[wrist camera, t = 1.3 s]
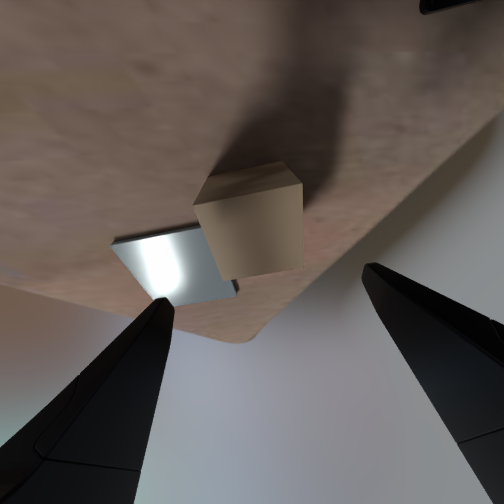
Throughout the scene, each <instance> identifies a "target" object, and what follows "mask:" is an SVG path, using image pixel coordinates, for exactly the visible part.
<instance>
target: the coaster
mask: <svg viewBox="0 0 504 504" xmlns="http://www.w3.org/2000/svg"><path fill="white" fill-rule="evenodd" d="M110 247H111V248H112V249H113V251H114V252H115V253H116V254H117V255H118V257H119V258H120V259H121V260H122V262H123V263H124V264H125V265H126V267H127V268H128V269H129V270H130V272H131V273H132V274H133V275H134V277H135V278H136V279H137V280H138V282H139V283H140V284H141V285H142V287H143V288H144V289H145V290H146V291H147V293H148V294H149V295H150V296H151V298H152V299H153V300H155V299H157V298H160V297H166V298H168V300H169V301H170V302H171V304H172V305H173V307H174V306H180V305H186V304H192V303H198V302H204V301H210V300H217V299H223V298H229V297H235V296H237V291H236V288H235V286H234V283H233V280H227V281H223V279H222V277H221V275H220V272H219V270H218V267H217V265H216V262H215V260H214V257H213V255H212V252H211V250H210V248H209V245H208V243H207V240H206V238H205V235H204V233H203V230H202V228H201V225H198V226H193V227H188V228H183V229H178V230H173V231H167V232H162V233H157V234H152V235H147V236H142V237H137V238H132V239H127V240H121V241H116V242H113V243H112V244H111V245H110Z"/></svg>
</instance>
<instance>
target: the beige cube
mask: <svg viewBox="0 0 504 504" xmlns="http://www.w3.org/2000/svg"><path fill="white" fill-rule="evenodd" d="M193 208H194V211H195V213H196V216H197V218H198V221H199V223H200V225H201V228H202V230H203V233H204V235H205V238H206V240H207V243H208V245H209V248H210V250H211V252H212V255H213V257H214V260H215V262H216V265H217V267H218V270H219V272H220V275H221V277H222V279H223V281H227V280H233V279H239V278H245V277H251V276H257V275H262V274H268V273H274V272H280V271H286V270H292V269H298V268H304V229H303V187H302V182H301V181H300V180H299V179H298V178H297V177H296V175H295V174H294V173H293V172H292V171H291V170H290V169H289V168H288V166H287V165H286V164H285V163H284V162H283V161H278V162H273V163H269V164H264V165H259V166H255V167H250V168H246V169H241V170H236V171H232V172H227V173H222V174H218V175H213V176H209V177H208V178H207V180H206V182H205V183H204V185H203V187H202V189H201V191H200V193H199V195H198V196H197V198H196V200H195V202H194V204H193Z"/></svg>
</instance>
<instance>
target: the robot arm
mask: <svg viewBox="0 0 504 504" xmlns="http://www.w3.org/2000/svg"><path fill="white" fill-rule="evenodd" d="M477 1H481V0H434V2H433V4H432V3H431V0H420V5H419V9H420V13H422V14H423V15H427V14H431V13H435V12H439V11H442V10H446V9H450V8H454V7H458V6H462V5H465V4H469V3H473V2H477ZM362 283H363V285H364V287H365V289H366V291H367V293H368V295H369V297H370V300H371V302H372V304H373V306H374V308H375V310H376V312H377V314H378V316H379V317H380V319H381V321H382V323H383V324H384V325H385V327H386V329H387V330H388V332H389V334H390V336H391V337H392V339H393V340H394V342H395V344H396V345H397V347H398V349H399V350H400V351H401V354H402V355H403V357H404V358H405V360H406V362H407V363H408V365H409V366H410V368H411V370H412V372H413V373H414V375H415V376H416V378H417V380H418V381H419V383H420V385H421V386H422V388H423V389H424V391H425V392H426V394H427V396H428V398H429V399H430V401H431V403H432V404H433V406H434V407H435V409H436V411H437V412H438V414H439V416H440V417H441V419H442V421H443V422H444V424H445V425H446V427H447V429H448V430H449V432H450V434H451V435H452V437H453V438H454V440H455V442H456V443H457V445H458V447H459V449H460V450H461V452H462V453H463V455H464V457H465V458H466V460H467V462H468V463H469V465H470V467H471V468H472V470H473V471H474V473H475V475H476V476H477V478H478V480H479V481H480V483H481V484H482V486H483V488H484V489H485V491H486V493H487V494H488V496H489V498H490V499H491V501H492V502H493V504H504V325H503V324H501V323H499V322H497V321H495V320H490V318H488V317H487V316H485V315H482V314H480V313H478V312H476V311H474V310H472V309H470V308H468V307H466V306H464V305H462V304H460V303H458V302H456V301H454V300H452V299H450V298H448V297H446V296H444V295H442V294H440V293H438V292H436V291H434V290H431V289H429V288H428V287H426V286H423V285H421V284H419V283H417V282H415V281H413V280H411V279H409V278H407V277H405V276H403V275H401V274H399V273H397V272H395V271H393V270H391V269H389V268H387V267H385V266H383V265H381V264H379V263H376V262H374V263H367V264H365V266H364V269H363V273H362ZM174 313H175V310H174V307H173V305H172V304H171V302H170V301H169V300H168V298H166V297H160V298H157V299H155V300H154V301H153V302H152V303H151V304H150V305H149V306H148V307H147V308H146V309H145V310H144V311H143V312H142V313H141V314H140V315H139V316H138V317H137V318H136V319H135V320H134V321H133V322H132V323H131V324H130V325H129V326H128V327H127V328H126V329H125V330H124V331H123V332H122V333H121V334H120V335H119V336H118V337H117V338H115V340H114V341H112V342H111V343H110V344H109V345H108V346H107V347H106V348H105V349H104V350H103V351H102V352H101V353H100V354H99V355H98V356H97V357H96V358H95V359H94V360H93V361H92V362H91V363H90V364H89V365H88V366H87V367H86V368H85V369H84V370H83V371H82V372H81V373H80V375H78V376H77V377H76V378H75V379H74V380H73V381H72V382H71V383H70V384H69V385H68V386H67V387H66V388H65V389H64V390H62V391H61V392H60V394H58V395H57V396H56V397H55V398H54V399H53V400H52V401H51V402H50V403H49V404H48V405H47V406H46V407H44V408H43V409H42V410H41V411H40V412H39V413H38V414H37V415H36V416H35V417H34V418H32V419H31V420H30V421H29V422H28V423H27V424H26V425H25V426H24V427H23V428H21V429H20V430H19V431H18V432H17V433H16V434H15V435H14V436H12V437H11V438H10V439H9V440H8V441H7V442H6V443H5V444H4V445H2V446H1V447H0V504H134V500H135V496H136V491H137V487H138V483H139V478H140V474H141V468H142V465H143V460H144V456H145V452H146V448H147V443H148V439H149V435H150V430H151V426H152V422H153V417H154V413H155V408H156V404H157V400H158V396H159V391H160V387H161V383H162V378H163V374H164V370H165V366H166V361H167V357H168V353H169V348H170V343H171V337H172V329H173V321H174Z"/></svg>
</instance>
